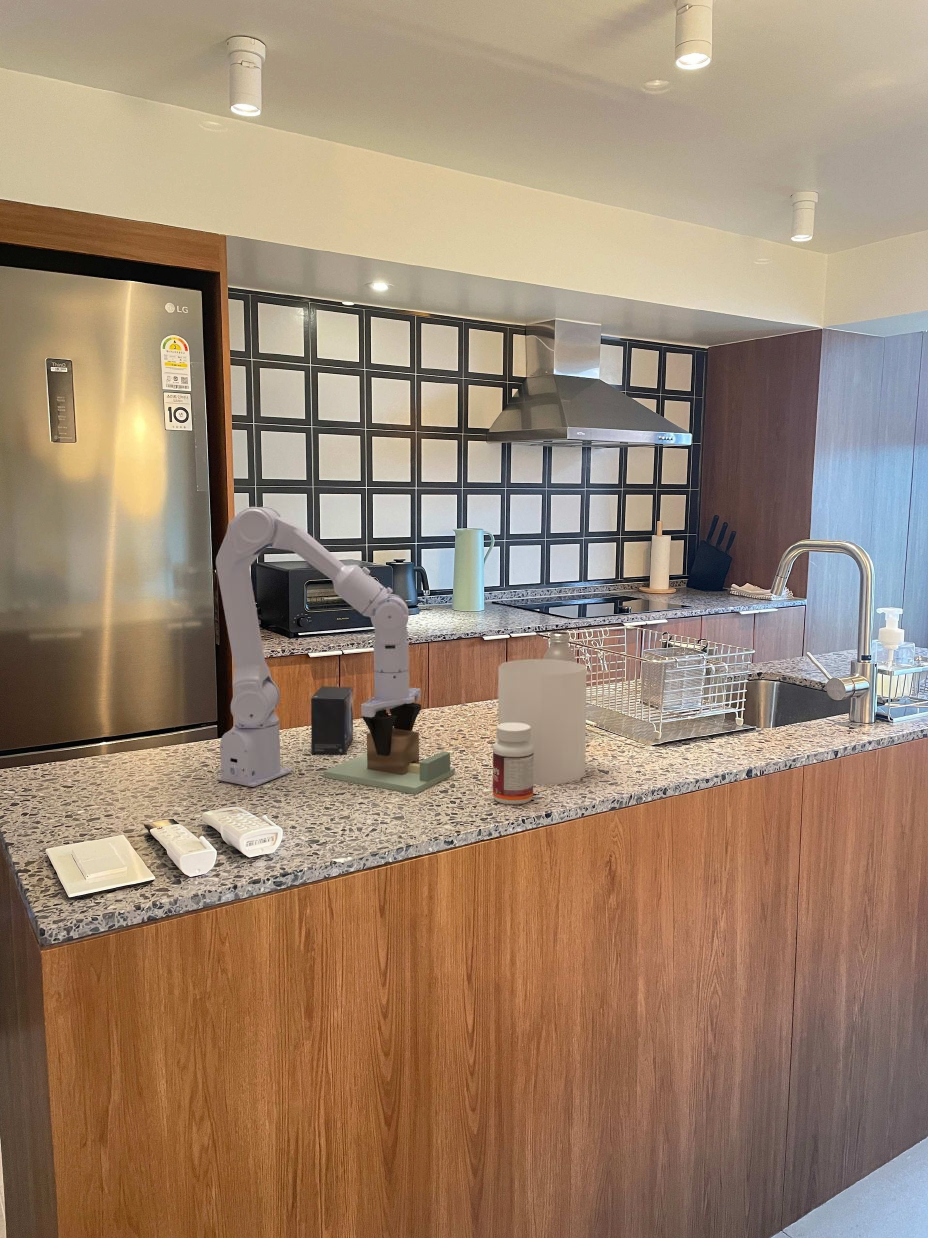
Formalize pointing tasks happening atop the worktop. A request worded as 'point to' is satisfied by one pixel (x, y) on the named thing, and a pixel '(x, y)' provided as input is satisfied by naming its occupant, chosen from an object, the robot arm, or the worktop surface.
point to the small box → (331, 720)
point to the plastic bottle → (559, 647)
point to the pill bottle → (513, 764)
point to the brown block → (395, 752)
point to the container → (547, 714)
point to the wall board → (410, 782)
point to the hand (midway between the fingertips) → (392, 750)
